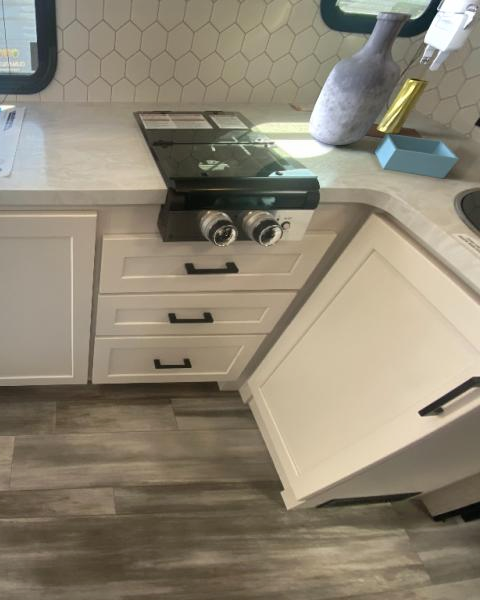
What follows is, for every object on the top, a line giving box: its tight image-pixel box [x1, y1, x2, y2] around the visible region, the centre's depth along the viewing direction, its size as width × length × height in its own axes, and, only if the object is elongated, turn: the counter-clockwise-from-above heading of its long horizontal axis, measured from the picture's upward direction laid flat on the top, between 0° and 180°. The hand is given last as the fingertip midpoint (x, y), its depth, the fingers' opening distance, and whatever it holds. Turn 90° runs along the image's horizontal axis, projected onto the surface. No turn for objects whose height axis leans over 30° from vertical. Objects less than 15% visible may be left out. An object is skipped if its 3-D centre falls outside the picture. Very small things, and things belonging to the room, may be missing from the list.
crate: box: [374, 133, 459, 179], centre depth 91 cm, size 13×13×5 cm
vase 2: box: [377, 77, 430, 134], centre depth 106 cm, size 6×6×14 cm
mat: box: [364, 123, 423, 139], centre depth 111 cm, size 18×14×1 cm
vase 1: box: [308, 11, 413, 146], centre depth 93 cm, size 16×16×30 cm
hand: (427, 67), depth 99 cm, fingers open, 8 cm apart
